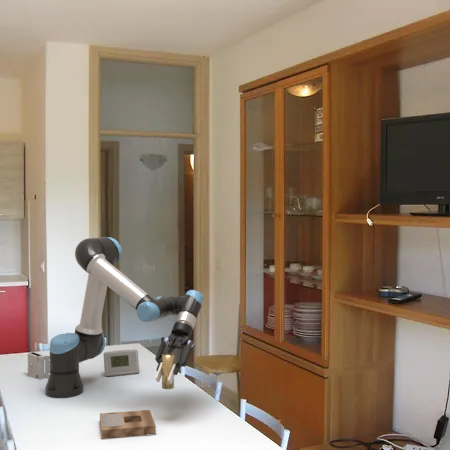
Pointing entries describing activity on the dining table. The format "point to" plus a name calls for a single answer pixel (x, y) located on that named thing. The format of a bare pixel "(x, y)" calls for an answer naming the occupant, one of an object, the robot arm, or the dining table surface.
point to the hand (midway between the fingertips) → (163, 380)
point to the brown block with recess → (126, 424)
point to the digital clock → (121, 362)
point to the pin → (167, 370)
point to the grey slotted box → (38, 365)
